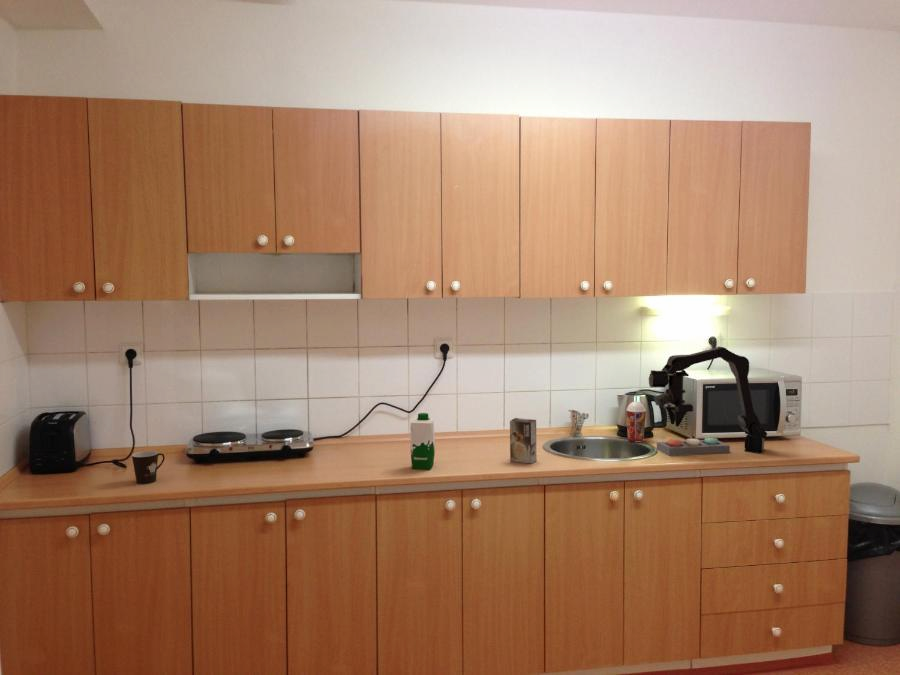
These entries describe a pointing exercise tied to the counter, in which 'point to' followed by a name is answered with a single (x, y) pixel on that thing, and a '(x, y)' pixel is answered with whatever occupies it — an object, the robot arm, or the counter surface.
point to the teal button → (711, 441)
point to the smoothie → (635, 420)
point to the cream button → (692, 442)
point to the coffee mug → (146, 466)
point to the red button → (674, 443)
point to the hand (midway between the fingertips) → (674, 425)
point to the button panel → (693, 448)
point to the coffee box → (523, 440)
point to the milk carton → (422, 442)
